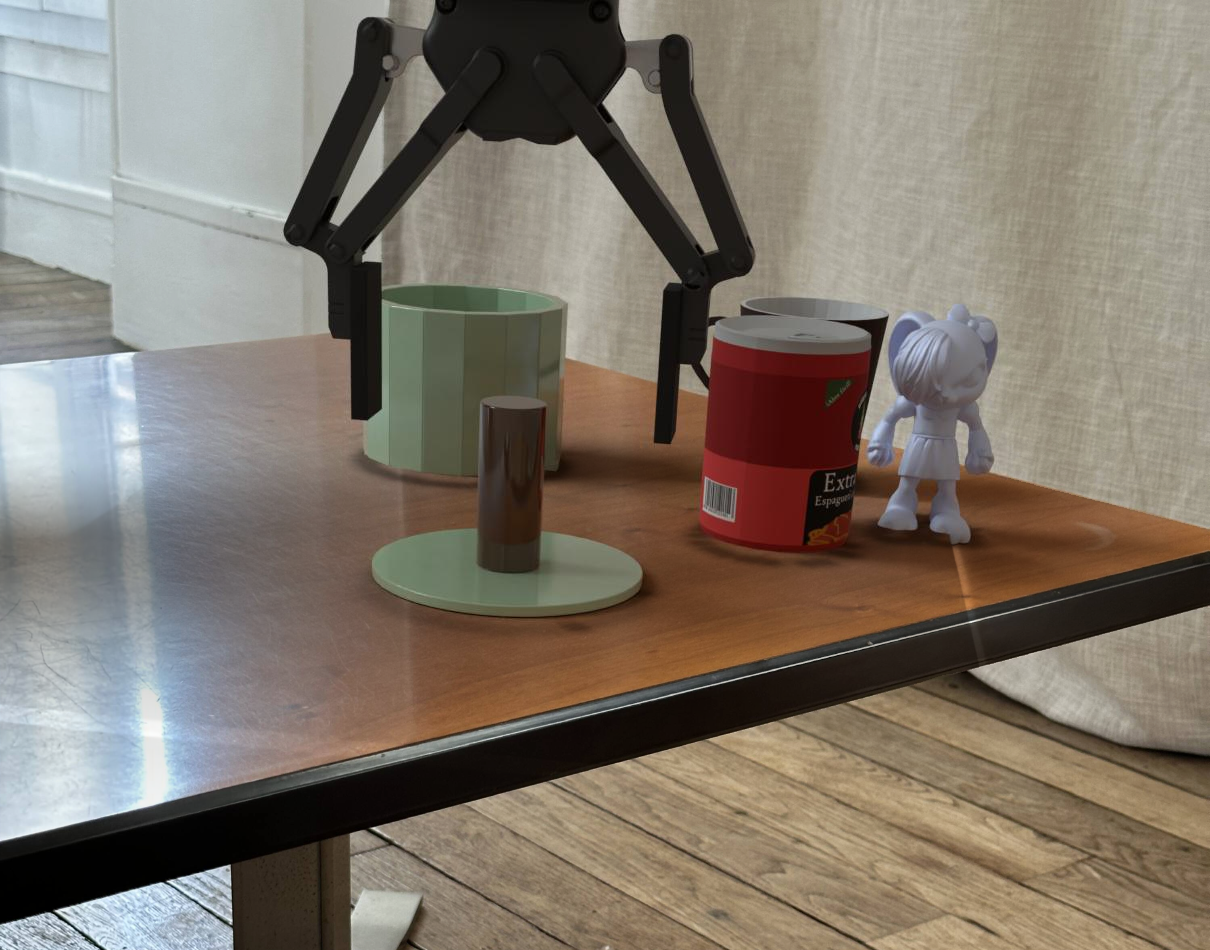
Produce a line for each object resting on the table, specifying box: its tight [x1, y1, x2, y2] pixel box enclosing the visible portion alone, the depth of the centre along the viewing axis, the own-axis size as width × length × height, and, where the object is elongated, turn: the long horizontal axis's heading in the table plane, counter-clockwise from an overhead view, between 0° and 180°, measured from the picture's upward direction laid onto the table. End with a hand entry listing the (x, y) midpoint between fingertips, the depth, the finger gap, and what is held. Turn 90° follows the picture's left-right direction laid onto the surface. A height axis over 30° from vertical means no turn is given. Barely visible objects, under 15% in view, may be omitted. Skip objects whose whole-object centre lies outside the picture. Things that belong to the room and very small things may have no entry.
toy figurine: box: [865, 303, 999, 545], centre depth 91 cm, size 7×6×12 cm
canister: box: [362, 282, 569, 477], centre depth 101 cm, size 12×12×10 cm
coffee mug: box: [690, 296, 890, 431], centre depth 102 cm, size 12×9×10 cm
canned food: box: [698, 315, 871, 553], centre depth 88 cm, size 8×8×11 cm
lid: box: [371, 396, 644, 618], centre depth 78 cm, size 13×13×9 cm
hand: (514, 426), depth 77 cm, fingers open, 13 cm apart
